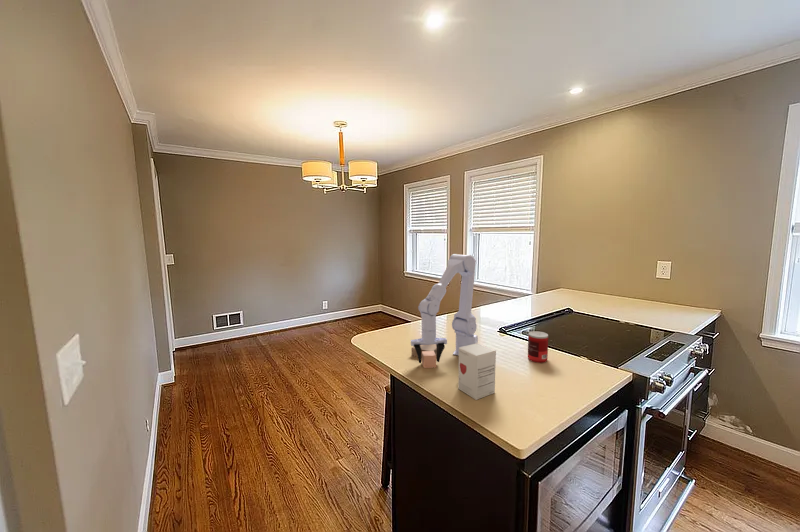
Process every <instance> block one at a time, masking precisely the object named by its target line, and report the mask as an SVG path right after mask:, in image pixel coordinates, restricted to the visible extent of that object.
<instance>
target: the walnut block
mask: <svg viewBox="0 0 800 532" xmlns="http://www.w3.org/2000/svg"><path fill="white" fill-rule="evenodd" d="M420 346H421V359H422V351H434V352H435V354H436V357H437V347H436V344H430V345H420ZM415 356H416V357H417V358H418V355H417V352H416V350H415V347H414V346H411V357H415ZM416 357H415V358H416Z"/></svg>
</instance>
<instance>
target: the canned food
mask: <svg viewBox="0 0 800 532" xmlns="http://www.w3.org/2000/svg"><path fill="white" fill-rule="evenodd" d="M527 336H528V337H527V340H528V341H527V359H528V360H529V361H530V362H533V363H537V364H542V363H546V362H547V361H548V358H549V357H548V354H549V353H548V352H549V334H548V333H546V332H544V331H539V330H538V331H537V330H536V331H535V330H534V331H530V332H528V335H527Z"/></svg>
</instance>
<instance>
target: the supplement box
mask: <svg viewBox="0 0 800 532" xmlns="http://www.w3.org/2000/svg"><path fill="white" fill-rule="evenodd" d="M496 355H497V350H495V349H492V348H490V347H488V346H487V345H486V346H485V345H483V344H481V343H479V342H478V343H475V344H471V345H467V346H463V347H460V348H459V355H458V383H457V384H458V390H460V391H461V392H463V393H465V394H466V395H468V396H469V397H471V398H472V399H473V400H475V401H477V400H480V399H483V398H484V397H487V396H490V395H492V394H494V393H496V360H497V356H496Z"/></svg>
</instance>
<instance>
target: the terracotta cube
mask: <svg viewBox="0 0 800 532" xmlns="http://www.w3.org/2000/svg"><path fill="white" fill-rule="evenodd" d="M436 357H437V356H436V354H435V352H434V351H422V358H421V364H422V367H423V368H424V369H425V368H426V369H427V368H430V369H431V368H432V369H433V367H434V368H437V358H436Z"/></svg>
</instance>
